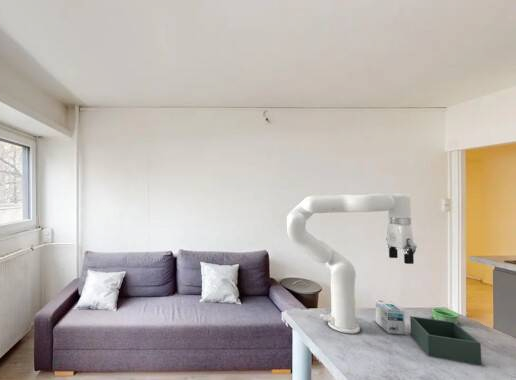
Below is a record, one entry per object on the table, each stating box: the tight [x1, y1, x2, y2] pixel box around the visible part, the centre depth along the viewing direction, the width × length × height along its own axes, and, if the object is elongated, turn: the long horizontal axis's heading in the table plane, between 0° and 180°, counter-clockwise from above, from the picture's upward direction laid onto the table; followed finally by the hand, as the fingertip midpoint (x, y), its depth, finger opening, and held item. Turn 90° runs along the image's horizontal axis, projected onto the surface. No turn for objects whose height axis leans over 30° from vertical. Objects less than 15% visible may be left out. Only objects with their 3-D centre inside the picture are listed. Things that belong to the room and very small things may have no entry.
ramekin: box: [431, 307, 460, 324], centre depth 125 cm, size 9×9×4 cm
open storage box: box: [409, 315, 482, 366], centre depth 105 cm, size 15×17×8 cm
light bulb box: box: [374, 299, 406, 335], centre depth 120 cm, size 11×7×11 cm, turn 168°
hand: (400, 260), depth 115 cm, fingers open, 9 cm apart
